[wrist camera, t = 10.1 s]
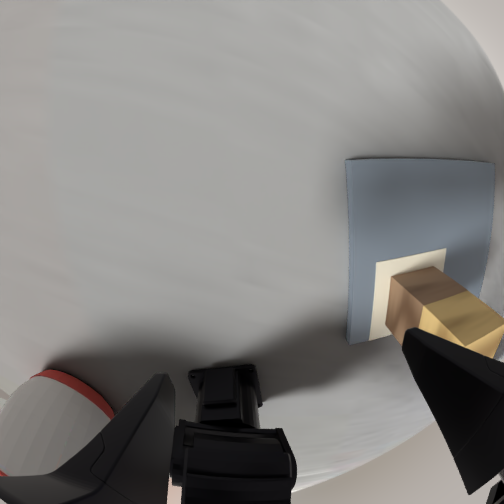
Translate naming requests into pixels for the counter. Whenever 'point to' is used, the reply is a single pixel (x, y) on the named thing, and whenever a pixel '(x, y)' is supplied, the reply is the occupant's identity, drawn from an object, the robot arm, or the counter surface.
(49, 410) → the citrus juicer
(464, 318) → the ochre block
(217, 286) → the counter surface
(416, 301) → the walnut block
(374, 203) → the board
